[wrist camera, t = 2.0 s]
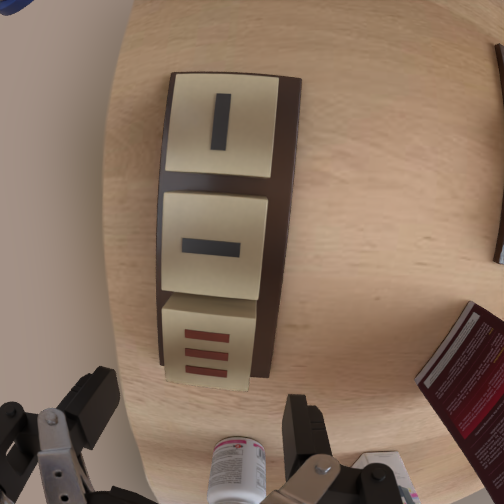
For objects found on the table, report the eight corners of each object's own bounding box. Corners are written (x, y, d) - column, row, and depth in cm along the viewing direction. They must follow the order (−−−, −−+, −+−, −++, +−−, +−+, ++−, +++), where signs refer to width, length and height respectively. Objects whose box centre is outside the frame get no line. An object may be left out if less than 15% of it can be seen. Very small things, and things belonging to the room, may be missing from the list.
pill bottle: (207, 455, 23) (195, 525, 15) (223, 429, 22) (213, 508, 14) (253, 467, 24) (252, 535, 15) (273, 442, 23) (276, 518, 14)
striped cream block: (177, 286, 18) (160, 309, 15) (256, 294, 18) (256, 319, 15) (178, 352, 19) (165, 382, 16) (249, 360, 19) (248, 393, 16)
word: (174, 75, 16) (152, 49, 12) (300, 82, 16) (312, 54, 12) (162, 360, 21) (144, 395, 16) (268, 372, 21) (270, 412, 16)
